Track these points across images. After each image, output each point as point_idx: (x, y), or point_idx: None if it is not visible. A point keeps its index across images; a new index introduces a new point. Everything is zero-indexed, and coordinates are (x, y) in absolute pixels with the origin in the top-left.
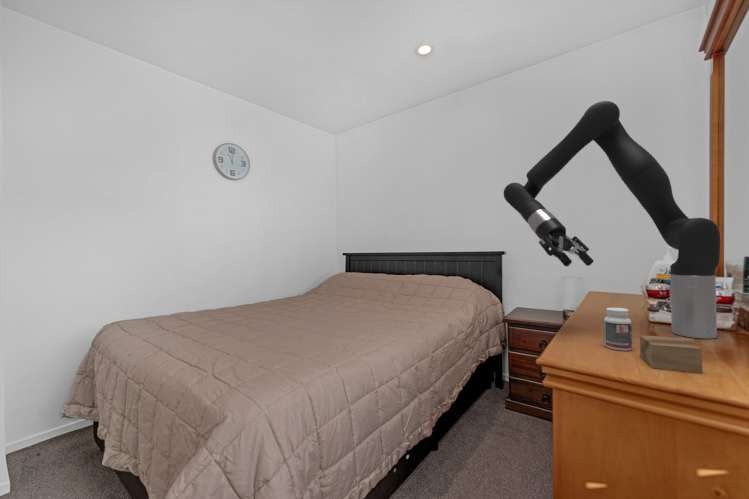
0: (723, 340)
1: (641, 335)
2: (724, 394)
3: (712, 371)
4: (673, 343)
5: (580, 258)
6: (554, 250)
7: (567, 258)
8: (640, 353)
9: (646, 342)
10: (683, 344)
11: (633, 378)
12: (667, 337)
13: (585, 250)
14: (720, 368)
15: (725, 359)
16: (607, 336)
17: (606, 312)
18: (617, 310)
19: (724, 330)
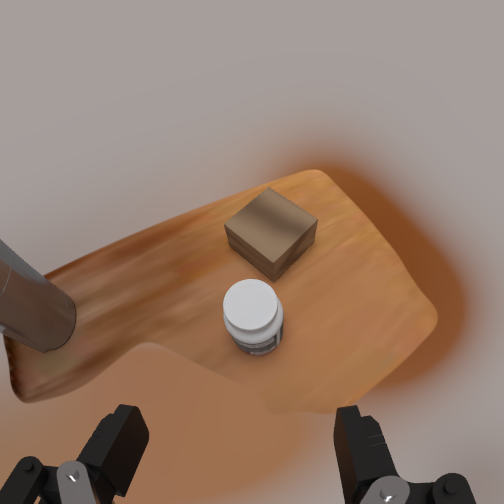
0: (62, 283)
1: (272, 260)
2: (318, 176)
3: None
4: (276, 212)
5: (128, 484)
6: (452, 475)
7: (361, 426)
8: (275, 278)
9: (300, 238)
10: (268, 204)
11: (373, 227)
12: (243, 236)
13: (69, 465)
14: (224, 214)
15: (171, 232)
16: (282, 331)
17: (271, 322)
18: (269, 289)
19: None
